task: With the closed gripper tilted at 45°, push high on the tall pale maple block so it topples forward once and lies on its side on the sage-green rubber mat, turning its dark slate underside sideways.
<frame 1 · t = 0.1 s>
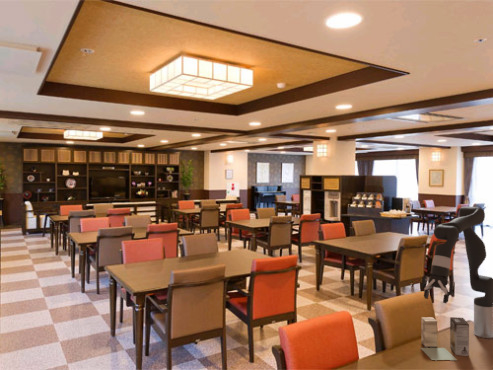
hand: (435, 300, 175), 31 cm above the table, tool tilted 20°, fingers open, 8 cm apart
maple block: (429, 345, 199), on the table
mat: (438, 354, 189), on the table
coffee box: (459, 352, 192), on the table
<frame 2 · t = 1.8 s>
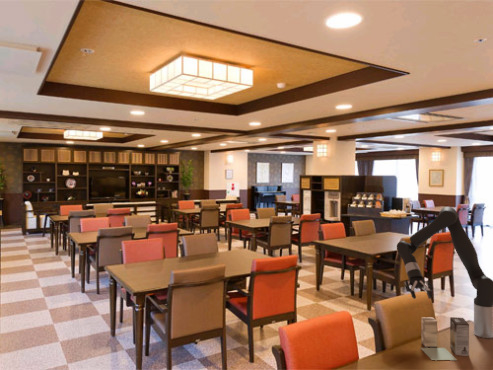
hand: (422, 298, 207), 23 cm above the table, tool tilted 45°, fingers open, 8 cm apart
nothing on the table moved.
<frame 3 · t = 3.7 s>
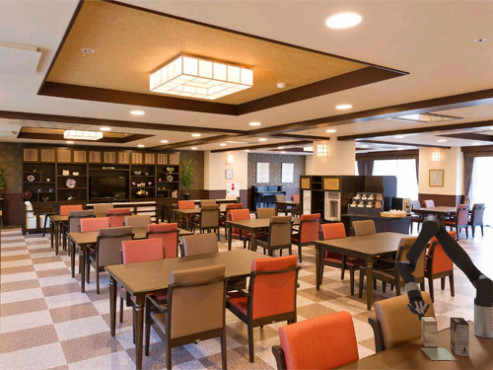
hand: (422, 321, 206), 10 cm above the table, tool tilted 45°, fingers closed
nothing on the table moved.
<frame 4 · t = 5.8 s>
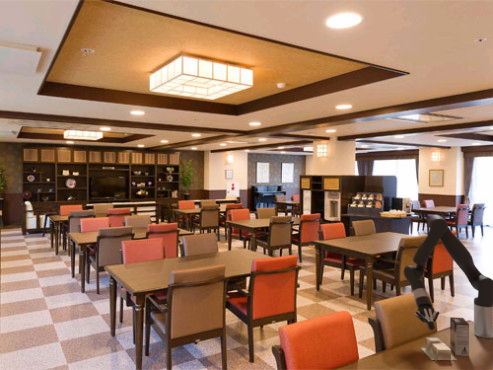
hand: (432, 329, 195), 10 cm above the table, tool tilted 45°, fingers closed
maple block: (431, 342, 197), point 3 cm above the table, tilted 90°, touching mat
everything else where it was.
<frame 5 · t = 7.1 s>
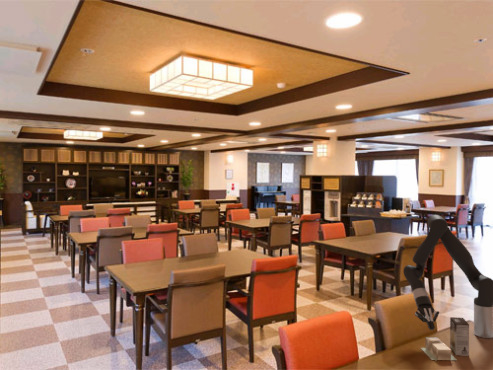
hand: (432, 329, 195), 10 cm above the table, tool tilted 45°, fingers closed
nothing on the table moved.
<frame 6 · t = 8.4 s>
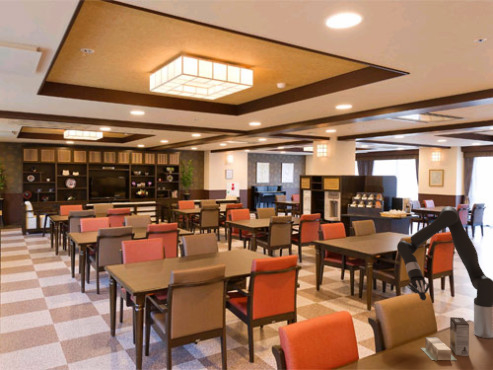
hand: (424, 299, 205), 22 cm above the table, tool tilted 45°, fingers closed
nothing on the table moved.
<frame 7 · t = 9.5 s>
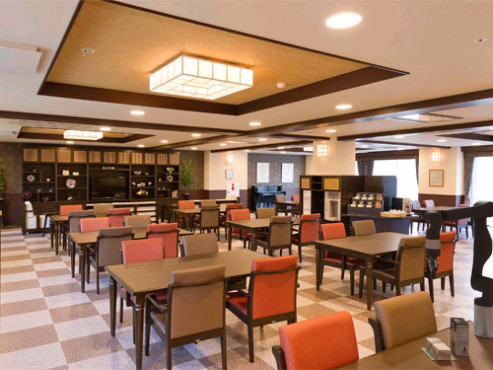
hand: (433, 278, 208), 33 cm above the table, tool pointing down, fingers closed
nothing on the table moved.
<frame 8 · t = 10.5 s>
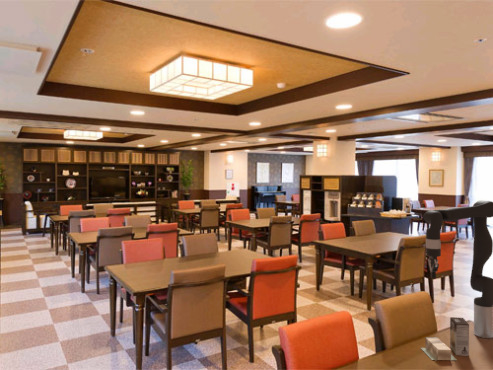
hand: (433, 278, 208), 33 cm above the table, tool pointing down, fingers closed
nothing on the table moved.
at the end: maple block tilted 90°; maple block inside the target area (3.1 cm from its centre), point 2.8 cm above the table; maple block touching mat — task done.
